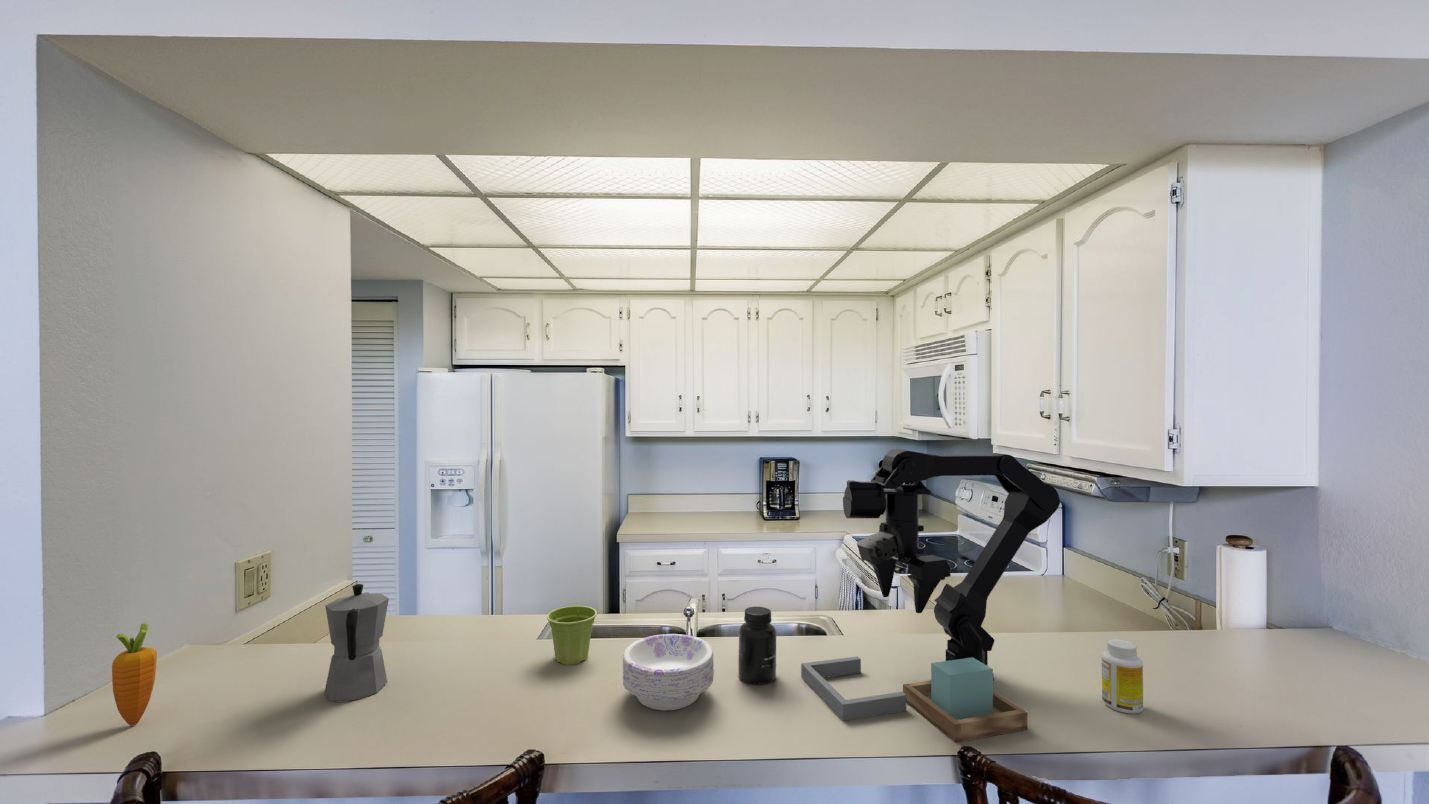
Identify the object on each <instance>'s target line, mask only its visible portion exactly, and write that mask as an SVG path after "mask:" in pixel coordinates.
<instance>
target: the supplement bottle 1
mask: <svg viewBox="0 0 1429 804" xmlns="http://www.w3.org/2000/svg"><path fill="white" fill-rule="evenodd" d="M743 619H744V623H742V624H741V625H740V627H739V630H738V661H737V662H738V667H737V668H738V672H737V673H738V677H739V678H740V679H741V681H743V682H745V683H748V684H751V685H766V684H770V683H772V682H773V681H774V680H775V679H776V675H777V630H776V627H775V626H774V625H773V624H772V610H771V609H770V608H767V607H763V606H748V607H746V608H745V609H744V617H743Z"/></svg>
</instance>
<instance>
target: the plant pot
mask: <svg viewBox="0 0 1429 804" xmlns="http://www.w3.org/2000/svg"><path fill="white" fill-rule="evenodd" d="M597 615H598V612H597V610H596V608H593V607H591V606H586V605H569V606H565V607H563V606H562V607H558V608H555V609H553V610H551V611H550V612H549V613H547V615H546V620H547V621H548V622H549V627H550V628H551V634H552V643H553V649H554V650H553V652H554V657H555V661H556V662H557V663H561V664H562V665H566V666H568V665H577V664H580V663H581V662H582V661H586V660H587V659H588V657H589V651H590V643H591V636H592V630H593V626H594V623H595V618H596V617H597Z"/></svg>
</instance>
